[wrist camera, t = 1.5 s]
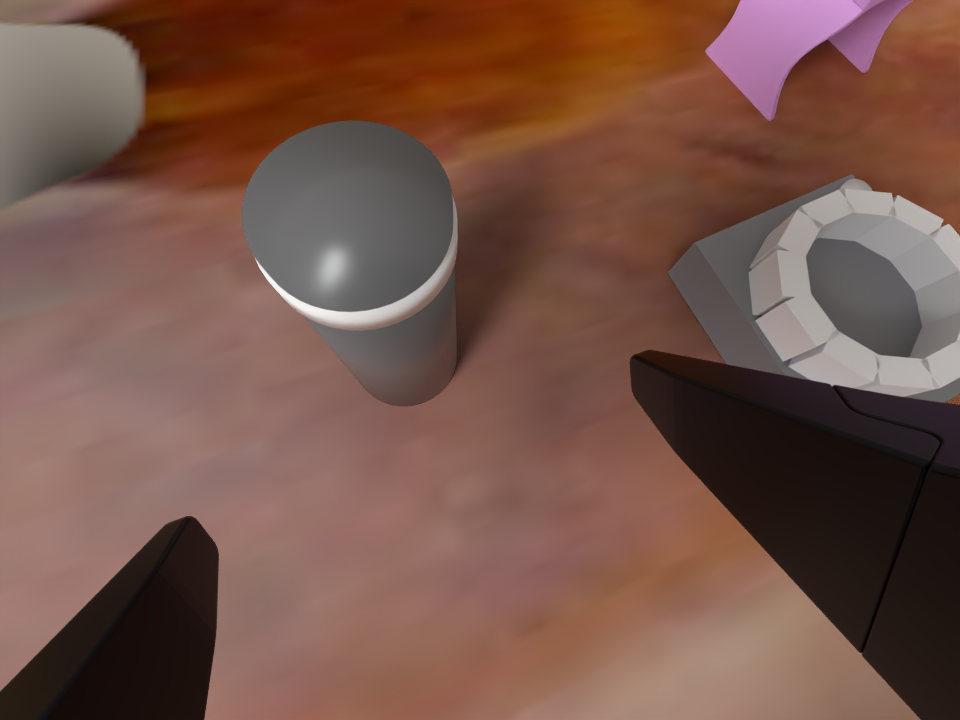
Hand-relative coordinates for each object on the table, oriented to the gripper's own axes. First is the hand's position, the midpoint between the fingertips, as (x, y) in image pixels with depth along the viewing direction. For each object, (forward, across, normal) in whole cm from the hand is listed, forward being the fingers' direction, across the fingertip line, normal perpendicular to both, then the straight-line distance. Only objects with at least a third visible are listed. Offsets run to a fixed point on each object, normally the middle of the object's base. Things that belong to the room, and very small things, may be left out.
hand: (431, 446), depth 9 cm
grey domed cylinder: (+13, 0, +4) cm, 14 cm away
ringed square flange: (+9, -20, +8) cm, 23 cm away
